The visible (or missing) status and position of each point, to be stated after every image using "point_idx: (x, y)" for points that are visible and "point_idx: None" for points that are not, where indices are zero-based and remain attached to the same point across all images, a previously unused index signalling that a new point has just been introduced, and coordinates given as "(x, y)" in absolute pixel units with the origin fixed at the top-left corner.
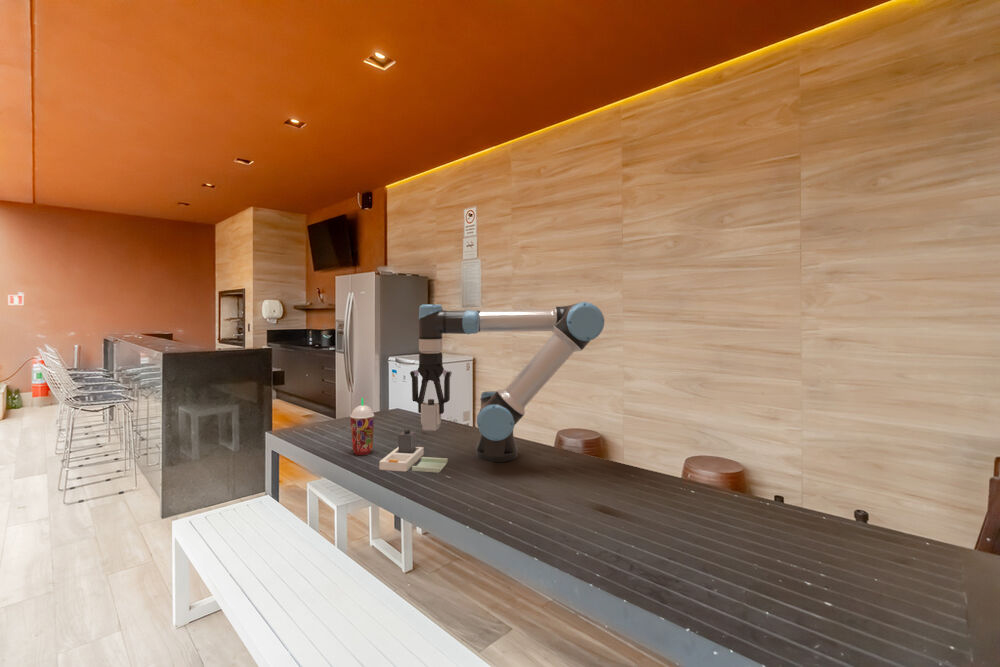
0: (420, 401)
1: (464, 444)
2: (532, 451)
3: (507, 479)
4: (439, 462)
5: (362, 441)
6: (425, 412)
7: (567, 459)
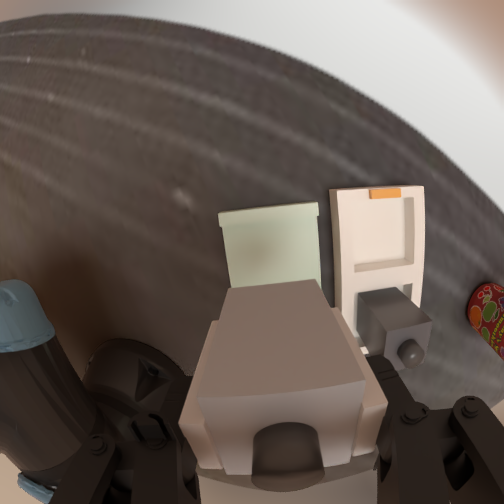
0: (402, 422)
1: None
2: None
3: (52, 234)
4: None
5: (500, 296)
6: (313, 342)
7: None
